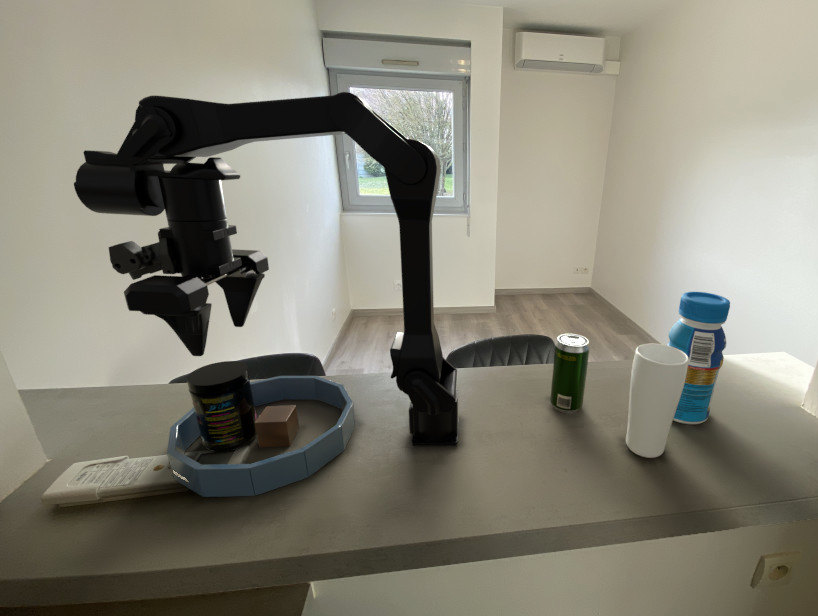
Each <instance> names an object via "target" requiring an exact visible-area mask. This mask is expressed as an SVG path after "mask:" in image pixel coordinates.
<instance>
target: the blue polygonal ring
mask: <svg viewBox="0 0 818 616" xmlns="http://www.w3.org/2000/svg"><path fill="white" fill-rule="evenodd" d="M250 384H251V389H252V395H253V400H254V405H255V407H258V406H263V405H266V404H270V403H275V402H278V401H282V400H287V401H288V400H317V401H319V402H322V403H325V404H328V405H329V406H332V407H335V408H338V409H340V410H341V415H340V417H339V418H338V420H337V423H336V424H335V425H334V426H333V427H331V428H329V429H328V430H326V431H325V432H324V433H322V434H321V435H319V436H318V437H316V438H315V439H313V440H312V441H310V442H309V443H307V444H306V445H304V446H302V447H301V448H298V449H294V450H291V451H288V452H283V453H281V454H278V455H275V456H272V457H268V458H265V459H262V460H258V461H256V462H252V463H220V464H219V463H218V464H217V463H216V464H213V463H211V464H209V463H208V464H207V463H206V464H201V463H200V462H198V461H196V460H195V459H193V458H191V457H189V456H187V455H185V451H187V450H188V448H189V447H190V446H191V445H193V443H194V442H195V441H197V440H198V439H199V437H201V435H200V431H199V427H198V423H197V418H196V414H195V410H194V406H193V407H192V408H190V410H188V412H186V413H185V414H184V415H182V417H180V418H179V419H178V420H177V421H176V422H175V423H174V424H172V425H171V426H170V428H169V434H168V440H167V442H168V443H167V448H166V456H167V458H168V461H169V465H170V469H171V471H172V470H174V471H175V472H177V473H178V474H180V475H181V476H183V477H185V478H186V479H187V480H188V481H189V483H188V482H186V481H185V480H183V479H181V478H180V477H178V476H176V475H175V474H173V473H172V476H173V479H174V481H176V482H177V483H179V484H181V485H183V486H184V487H186V488H188V489H190V490H191V491H193V492H194V493H196V494H198V495H199V496H200V497H202V498H219V497H220V498H222V497H224V498H225V497H226V498H227V497H255V496H256V497H257V496H259V495H262V494H265V493H268V492H270V491H273V490H276V489H279V488H282V487H284V486H288V485H291V484H293V483H296V482H299V481H303V480H305V479H308V478H309V477H311V476H313V475H314V474H315V473H316V472H317V471H319V470H320V469H321V468H323V467H325V465H327V464H328V463H329V462H331V461H332V460H333V459H335V458H336V457H337V456H339V455H340V454H341V453H343V452H344V451H345V449H346V447H347V445H348V442H349V441H350V438H351V436H352V434H353V431H354V428H355V427H356V419H355V417H356V416H355V408H354V407H355V406H354V401H353V399H352V398H351V396H350V394H349V393H348V391H347V389H346V387H345V386H344V384H343V383H340V382H336V381H333V380H330V379H328V378H325V377H321V376H318V375H277V376H274V377H269V378H264V379H260V380H255V381H250Z"/></svg>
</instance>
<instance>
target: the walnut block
mask: <svg viewBox="0 0 818 616" xmlns="http://www.w3.org/2000/svg"><path fill="white" fill-rule="evenodd" d="M298 416H299V415H298V410H297V405H296V404H295V405H292V404H291V405H289V404H288V405H269V406H268V405H267V406H266V407H265V408H263V411H262V412H261V413H260V415H259V416H257V420H256V421H255V428H256V433H257V435H256V438H257V443H258V448H276V447H277V448H278V447H291V445H292V443H293V442H294V439H295V438H296V435H297V434H298V432H299V431H300V424H299V417H298Z"/></svg>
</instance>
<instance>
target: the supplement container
mask: <svg viewBox="0 0 818 616" xmlns="http://www.w3.org/2000/svg"><path fill="white" fill-rule="evenodd" d="M250 382H251V375H250V372H249V367H248V365H247V364H246V363H245V362H243V361H239V360H238V361H237V360H225V361H218V362H214V363H210V364H206V365H203V366H201V367H198V368H196V369H194V370H192V371H191V372H190V373H189V374H188V375H187V376H186V383H187V388H188V393H189V394H190V398H191V402H192V406H193V407H194V410H195V414H196V418H197V423H198V427H199V431H200V439H201V443H202V446H203V447H204V448H205V449H207V450H208V451H211V452H214V453H226V452H231V451H234V450H235V451H236V450H238V449H240V448H242V447H244V446H246V445H248V444H250V443H251V442H252V441H253V440H254V439H255V438H256V437H257V433H256V428H255V421H256V420H257V419H258V415H257V412H256V411H257V410H256V406H255V405H254V400H253V395H252V389H251V384H250Z"/></svg>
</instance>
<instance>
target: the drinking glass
mask: <svg viewBox="0 0 818 616" xmlns="http://www.w3.org/2000/svg"><path fill="white" fill-rule="evenodd" d="M688 362H689V358H688V356H687V355H686V354H685V353H684V352H683V351H681V350H679V349H677V348H674V347H671V346H668V345H667V344H662V343H656V342H655V343H653V342H652V343H651V342H650V343H648V342H647V343H643V344H640V345H637V347H636V348H635V352H634V355H633V361H632V366H631V373H630V382H629V383H630V384H629V397H628V398H629V399H628V411H627V412H628V414H627V428H626V435H625V444H626V446H627V448H628V449H629V450H630V451H631V452H632V453H634V454H635V455H637V456H639V457H642V458H647V459H655V458H658V457H660V456H661V455H663V454H664V452H665V450H666V446H667V445H666V444H667V440H668V438H669V434H670V430H671V427H672V424H673V419H674V416H675V413H676V410H677V406H678V403H679V400H680V397H681V394H682V391H683V388H684V384H685V380H686V375H687V369H688Z"/></svg>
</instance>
